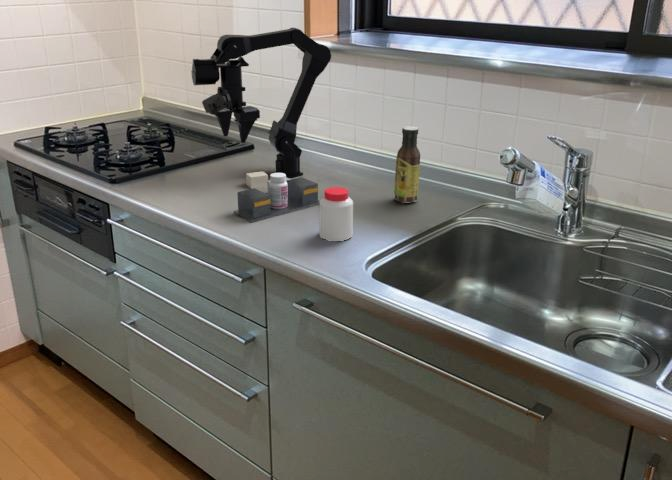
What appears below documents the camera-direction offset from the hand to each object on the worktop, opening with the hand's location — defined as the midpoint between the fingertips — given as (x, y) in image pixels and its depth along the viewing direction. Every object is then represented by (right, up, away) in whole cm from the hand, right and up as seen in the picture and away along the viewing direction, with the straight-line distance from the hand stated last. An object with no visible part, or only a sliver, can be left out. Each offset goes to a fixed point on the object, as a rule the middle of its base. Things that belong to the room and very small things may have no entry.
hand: (234, 139), depth 190 cm
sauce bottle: (+47, -18, -10) cm, 52 cm away
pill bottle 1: (+14, -20, -17) cm, 30 cm away
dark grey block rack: (+14, -20, -17) cm, 30 cm away
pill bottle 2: (+29, -28, -33) cm, 52 cm away
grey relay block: (+14, -16, -6) cm, 22 cm away
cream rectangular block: (+7, -13, 0) cm, 15 cm away
